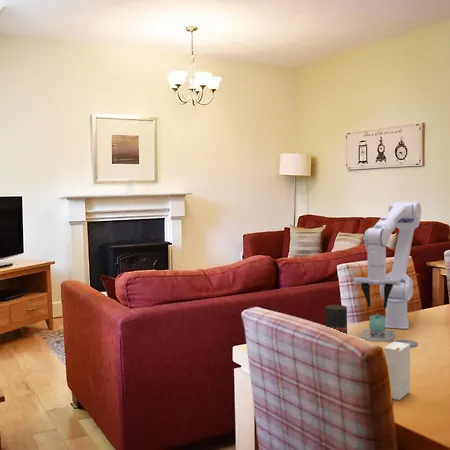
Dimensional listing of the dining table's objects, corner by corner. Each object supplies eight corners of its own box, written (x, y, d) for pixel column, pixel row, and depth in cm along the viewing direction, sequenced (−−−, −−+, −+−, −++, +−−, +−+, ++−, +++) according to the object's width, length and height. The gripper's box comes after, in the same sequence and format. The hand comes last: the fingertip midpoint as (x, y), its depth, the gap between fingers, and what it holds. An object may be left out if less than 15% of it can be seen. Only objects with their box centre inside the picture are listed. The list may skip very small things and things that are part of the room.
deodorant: (347, 362, 155) (346, 309, 153) (326, 361, 156) (325, 309, 155) (347, 355, 160) (346, 305, 159) (326, 354, 162) (325, 304, 160)
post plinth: (363, 331, 185) (363, 324, 184) (394, 333, 181) (394, 326, 181) (359, 339, 175) (359, 332, 175) (392, 342, 172) (392, 334, 172)
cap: (370, 326, 181) (370, 313, 181) (386, 327, 179) (385, 313, 179) (368, 330, 177) (368, 316, 176) (384, 331, 175) (384, 317, 174)
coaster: (394, 340, 174) (394, 338, 174) (417, 341, 171) (417, 340, 171) (393, 346, 167) (393, 345, 167) (417, 348, 165) (417, 347, 165)
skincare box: (393, 388, 134) (392, 340, 133) (411, 392, 131) (410, 343, 130) (382, 396, 129) (382, 346, 128) (400, 401, 127) (400, 350, 126)
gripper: (352, 266, 175) (352, 308, 176) (399, 267, 170) (399, 310, 171) (355, 263, 182) (355, 303, 183) (400, 264, 177) (401, 305, 178)
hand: (377, 306), depth 177 cm, fingers open, 4 cm apart
